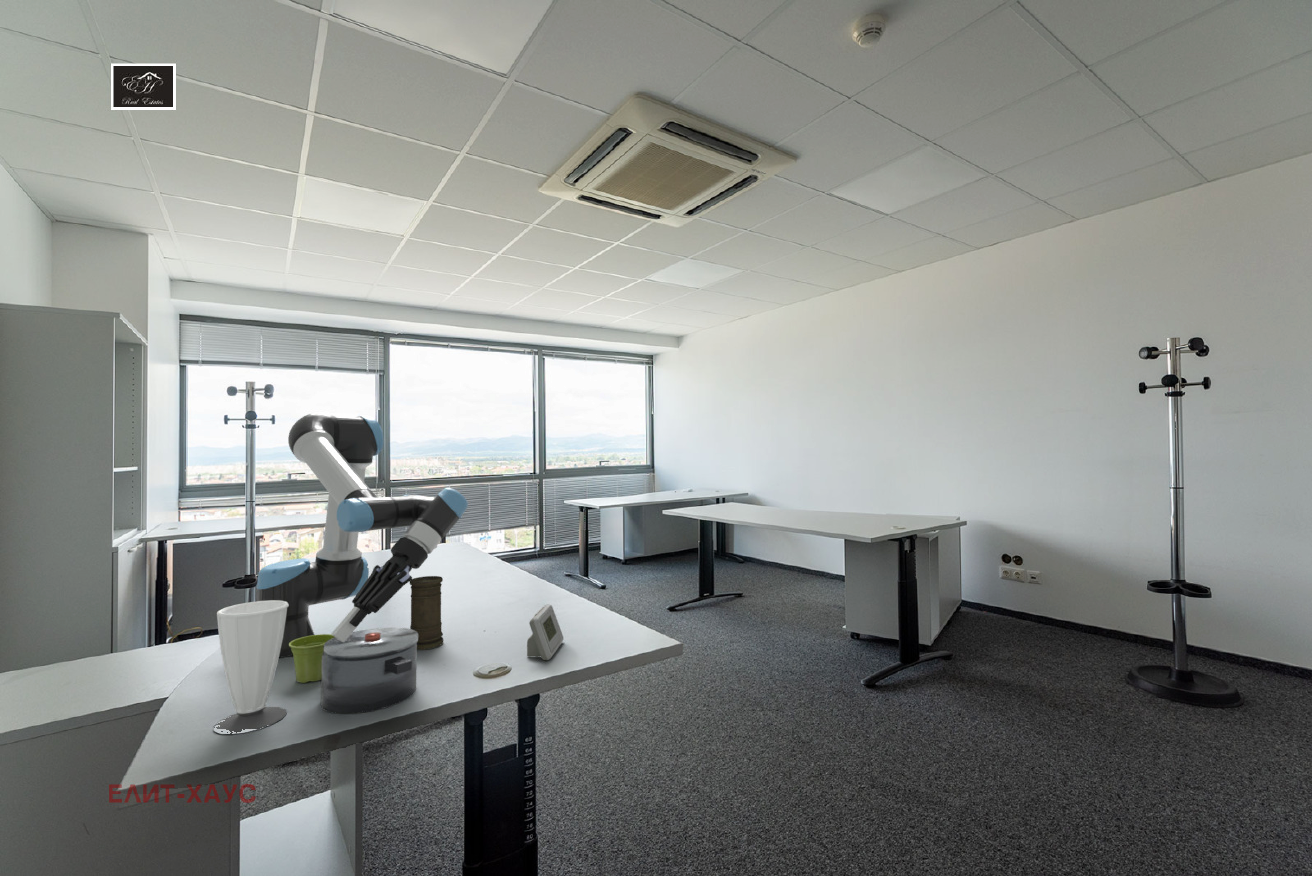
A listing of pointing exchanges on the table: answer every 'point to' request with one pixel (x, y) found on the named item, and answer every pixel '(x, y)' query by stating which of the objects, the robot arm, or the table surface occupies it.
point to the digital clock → (544, 634)
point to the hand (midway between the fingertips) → (337, 638)
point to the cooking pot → (367, 681)
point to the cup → (251, 660)
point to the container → (426, 611)
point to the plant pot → (309, 656)
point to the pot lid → (371, 643)
